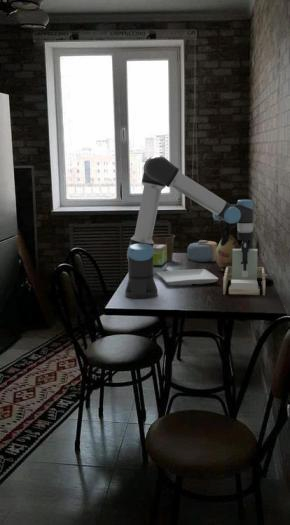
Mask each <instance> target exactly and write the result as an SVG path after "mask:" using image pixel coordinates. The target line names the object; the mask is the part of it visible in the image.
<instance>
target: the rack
mask: <svg viewBox="0 0 290 525" xmlns="http://www.w3.org/2000/svg"><path fill="white" fill-rule="evenodd" d="M257 277H262V281H261V289H262V291H261V292H262V296H266V274H265V267H264V266H257ZM222 280H223V282H222V286H223V287H222V291H223V292H222V294H223V295H226V293H227V288H228V284H229V283H228V282H229V281H231V280H232V267H226V270H225V271H224V276H223V278H222Z"/></svg>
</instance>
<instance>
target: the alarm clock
mask: <svg viewBox="0 0 290 525" xmlns="http://www.w3.org/2000/svg"><path fill="white" fill-rule="evenodd" d="M217 246H218V243H217V242H215V241H212V240H207V239H206V240H205V239H204V240H203V239H200V240H198V242H193V243H190V244H189V245H188V246H187V258H188V260H189V261H190V262H204V263H205V262H206V263H207V262H216V260H215V253H216V249H217Z"/></svg>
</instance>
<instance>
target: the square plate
mask: <svg viewBox="0 0 290 525" xmlns="http://www.w3.org/2000/svg"><path fill="white" fill-rule="evenodd" d="M156 273H157V276H159V278H160V279H162V280H163V281H164V282H165V284H166V285H168V286H172V287H174V286H178V287H179V286H192V284H196V285H206V284H212V283H215V282H217V281H218V280H219V278H218V277H217V275H215V274H213V273H212V272H210V271H209V270H207V269H204V268H198V269H177V270H176V269H175V270H165V271H162V272H156ZM156 273H155V274H156Z"/></svg>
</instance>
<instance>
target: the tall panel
mask: <svg viewBox="0 0 290 525" xmlns="http://www.w3.org/2000/svg"><path fill="white" fill-rule="evenodd" d="M247 261H248V263H247V264H248V277H242V264H241V262H242V248H241V249H233V250H232V280H257V267H258V248H249V252H248V259H247Z"/></svg>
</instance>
